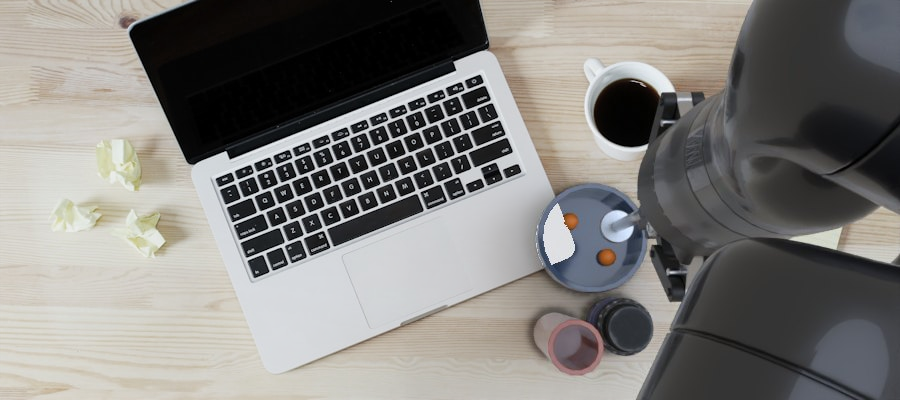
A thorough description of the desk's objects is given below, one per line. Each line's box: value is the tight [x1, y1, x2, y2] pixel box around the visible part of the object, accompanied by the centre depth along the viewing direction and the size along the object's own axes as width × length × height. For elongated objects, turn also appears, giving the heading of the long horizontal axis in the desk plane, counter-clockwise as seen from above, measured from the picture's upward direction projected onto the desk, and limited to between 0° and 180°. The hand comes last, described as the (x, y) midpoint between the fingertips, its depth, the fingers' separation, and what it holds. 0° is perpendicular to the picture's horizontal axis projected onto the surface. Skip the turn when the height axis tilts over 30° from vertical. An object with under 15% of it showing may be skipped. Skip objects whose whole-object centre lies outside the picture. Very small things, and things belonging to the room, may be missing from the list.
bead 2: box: [598, 249, 616, 266], centre depth 86 cm, size 2×2×2 cm
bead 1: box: [563, 213, 578, 230], centre depth 87 cm, size 2×2×2 cm
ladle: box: [599, 204, 645, 243], centre depth 59 cm, size 3×3×20 cm
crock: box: [533, 312, 605, 377], centre depth 77 cm, size 5×5×20 cm
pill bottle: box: [585, 297, 654, 357], centre depth 81 cm, size 6×6×11 cm
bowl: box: [536, 183, 649, 293], centre depth 86 cm, size 12×12×5 cm
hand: (652, 210), depth 54 cm, fingers closed on ladle, 1 cm apart
